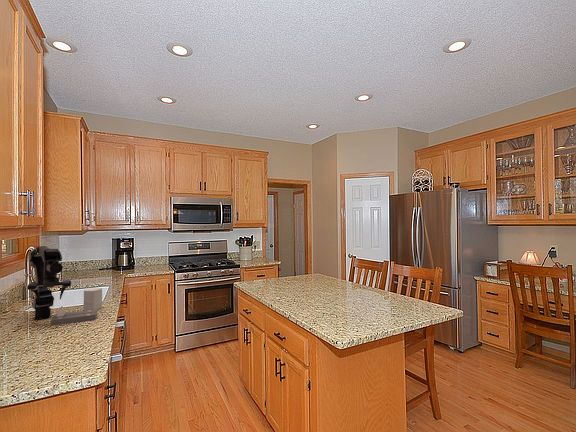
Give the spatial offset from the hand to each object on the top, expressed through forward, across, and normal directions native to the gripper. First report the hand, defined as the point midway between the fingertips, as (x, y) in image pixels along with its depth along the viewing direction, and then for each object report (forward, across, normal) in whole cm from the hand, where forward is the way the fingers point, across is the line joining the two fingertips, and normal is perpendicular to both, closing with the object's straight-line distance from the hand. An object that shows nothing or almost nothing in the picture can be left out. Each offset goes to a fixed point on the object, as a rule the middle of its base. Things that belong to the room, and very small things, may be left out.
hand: (49, 300), depth 168 cm
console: (+12, +12, -2) cm, 17 cm away
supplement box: (+12, +20, +18) cm, 30 cm away
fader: (+9, +5, -1) cm, 10 cm away
